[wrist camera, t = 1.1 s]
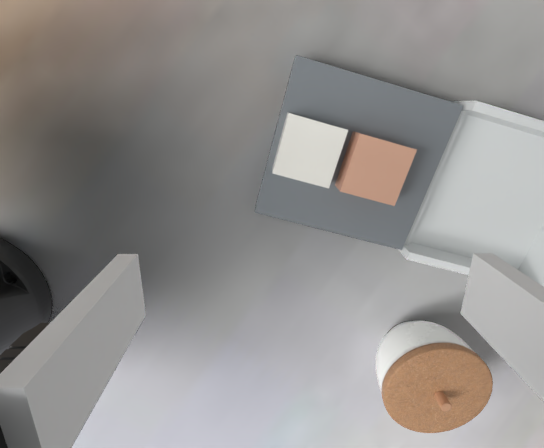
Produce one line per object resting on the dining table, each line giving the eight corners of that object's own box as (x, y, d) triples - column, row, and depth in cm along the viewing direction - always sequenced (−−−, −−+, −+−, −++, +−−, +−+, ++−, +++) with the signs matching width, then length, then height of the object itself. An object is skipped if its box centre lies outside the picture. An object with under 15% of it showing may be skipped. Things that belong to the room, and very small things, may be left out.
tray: (392, 243, 37) (406, 259, 33) (452, 101, 32) (476, 100, 28) (517, 276, 38) (544, 294, 34) (592, 143, 34) (633, 148, 30)
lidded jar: (352, 321, 40) (376, 382, 31) (443, 291, 39) (494, 346, 30) (377, 388, 43) (405, 460, 35) (461, 362, 42) (512, 431, 33)
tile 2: (272, 168, 31) (272, 173, 29) (287, 112, 30) (288, 113, 27) (324, 182, 32) (328, 188, 29) (342, 128, 30) (348, 130, 28)
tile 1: (334, 185, 32) (339, 191, 29) (352, 131, 30) (359, 133, 28) (385, 198, 32) (394, 206, 30) (405, 146, 31) (417, 149, 28)
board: (255, 203, 35) (254, 212, 33) (294, 59, 31) (296, 54, 28) (391, 238, 37) (401, 250, 34) (446, 105, 32) (463, 105, 29)
